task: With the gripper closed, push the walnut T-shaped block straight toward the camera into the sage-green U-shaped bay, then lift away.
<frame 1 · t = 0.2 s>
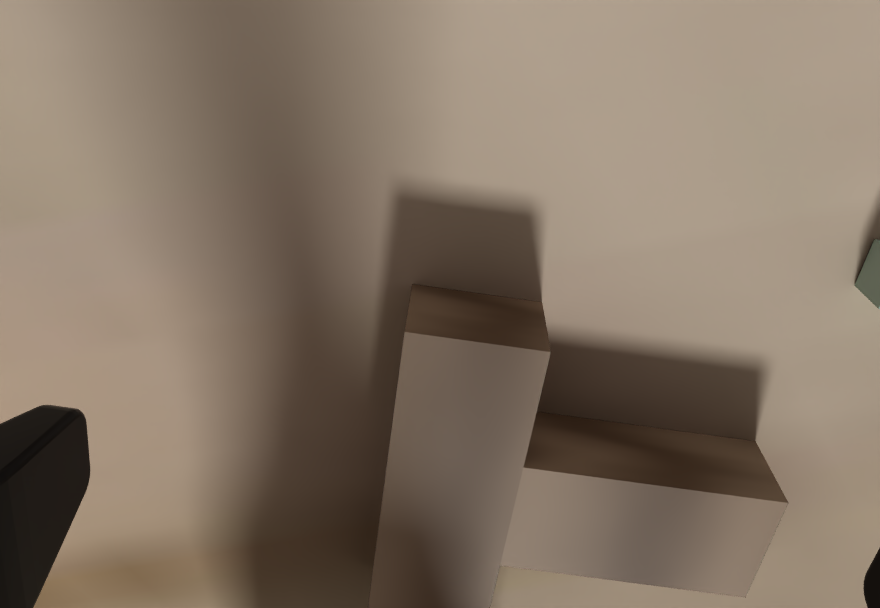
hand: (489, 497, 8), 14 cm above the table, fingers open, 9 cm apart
t block: (565, 464, 26), on the table
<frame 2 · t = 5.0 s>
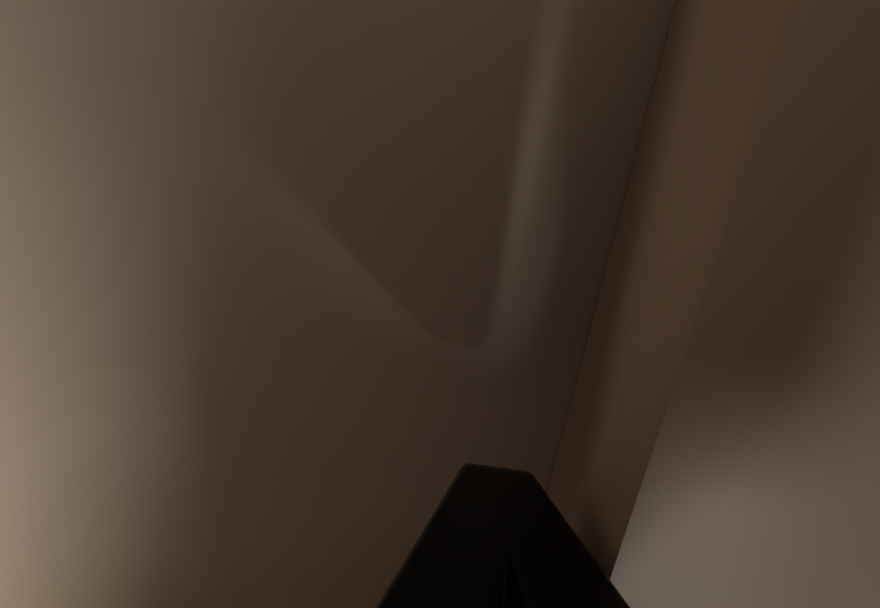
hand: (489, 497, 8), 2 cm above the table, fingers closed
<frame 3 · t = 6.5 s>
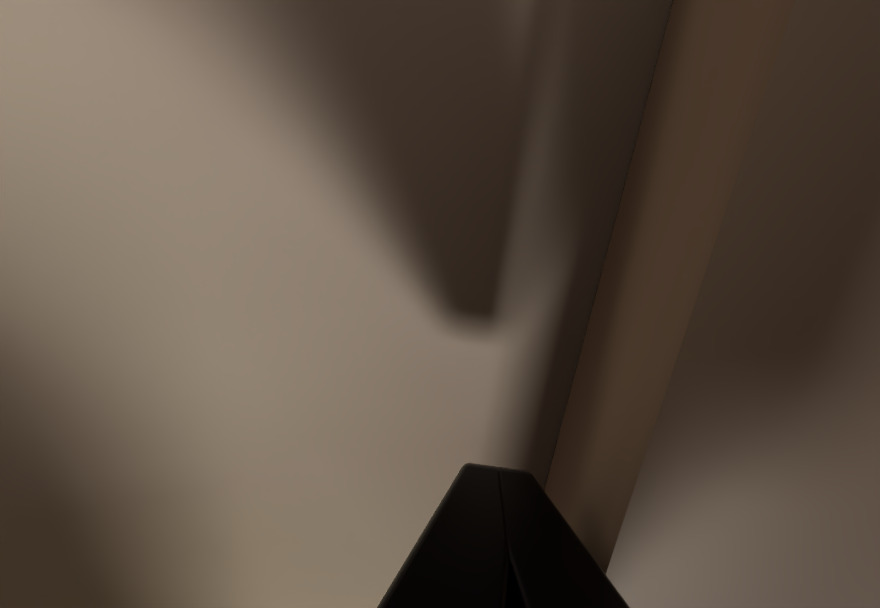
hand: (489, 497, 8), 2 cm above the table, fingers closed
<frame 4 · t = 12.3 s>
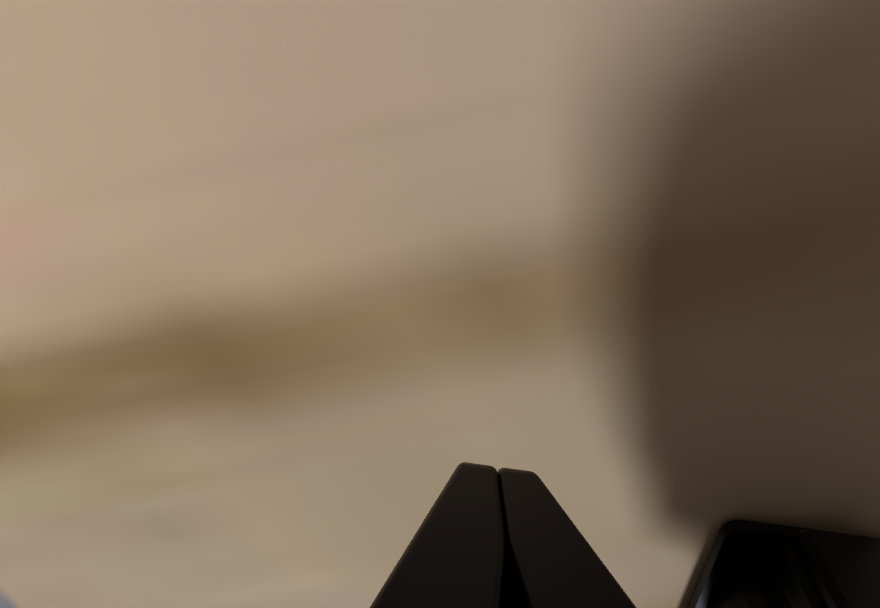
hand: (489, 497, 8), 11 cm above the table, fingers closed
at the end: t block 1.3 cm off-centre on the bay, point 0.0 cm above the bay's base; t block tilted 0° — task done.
